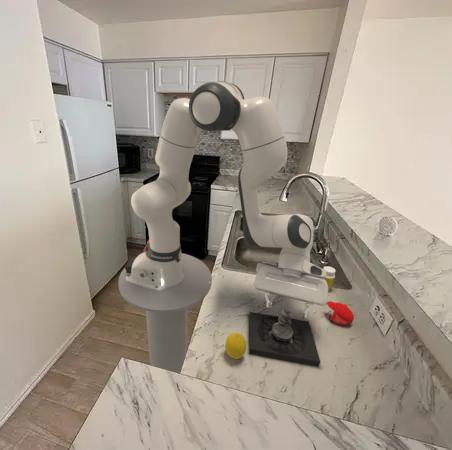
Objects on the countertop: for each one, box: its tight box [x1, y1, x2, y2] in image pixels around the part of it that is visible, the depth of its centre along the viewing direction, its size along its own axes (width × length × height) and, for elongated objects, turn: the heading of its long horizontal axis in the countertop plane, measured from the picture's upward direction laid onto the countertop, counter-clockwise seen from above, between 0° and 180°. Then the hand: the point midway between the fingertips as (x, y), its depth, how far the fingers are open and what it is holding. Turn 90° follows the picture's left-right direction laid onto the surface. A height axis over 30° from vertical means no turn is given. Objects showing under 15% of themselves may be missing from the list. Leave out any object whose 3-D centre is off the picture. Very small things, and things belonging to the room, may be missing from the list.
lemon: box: [224, 332, 247, 360], centre depth 68 cm, size 6×6×8 cm
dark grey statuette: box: [270, 307, 293, 345], centre depth 72 cm, size 6×6×12 cm
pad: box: [248, 311, 321, 367], centre depth 75 cm, size 18×14×2 cm
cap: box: [326, 300, 355, 326], centre depth 81 cm, size 8×6×6 cm
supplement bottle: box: [322, 265, 337, 292], centre depth 94 cm, size 5×5×8 cm
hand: (285, 313), depth 73 cm, fingers open, 8 cm apart
